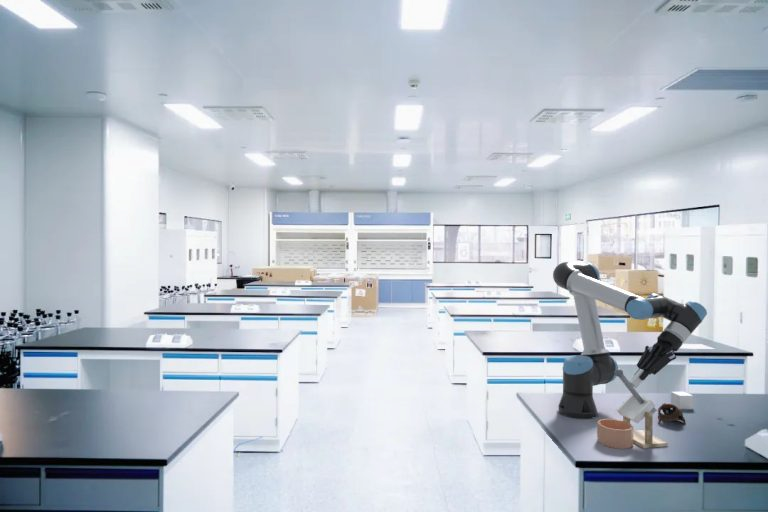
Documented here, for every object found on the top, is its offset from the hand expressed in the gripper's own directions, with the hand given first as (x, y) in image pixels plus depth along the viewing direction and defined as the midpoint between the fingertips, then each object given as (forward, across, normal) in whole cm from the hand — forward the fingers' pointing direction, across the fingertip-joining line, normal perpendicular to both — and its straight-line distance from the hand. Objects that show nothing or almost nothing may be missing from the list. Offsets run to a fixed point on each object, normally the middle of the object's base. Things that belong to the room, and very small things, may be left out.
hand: (632, 384), depth 171 cm
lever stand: (+11, 0, -17) cm, 21 cm away
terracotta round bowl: (+19, 0, -9) cm, 21 cm away
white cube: (-20, +30, -49) cm, 61 cm away
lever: (+5, 0, -11) cm, 12 cm away
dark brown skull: (-6, +15, -35) cm, 39 cm away
